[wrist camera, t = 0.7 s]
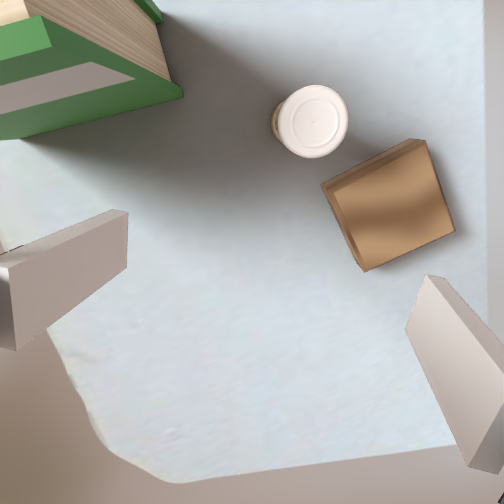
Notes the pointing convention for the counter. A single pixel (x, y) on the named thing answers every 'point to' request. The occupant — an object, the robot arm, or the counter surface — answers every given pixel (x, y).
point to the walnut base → (390, 204)
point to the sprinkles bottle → (311, 121)
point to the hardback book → (78, 62)
